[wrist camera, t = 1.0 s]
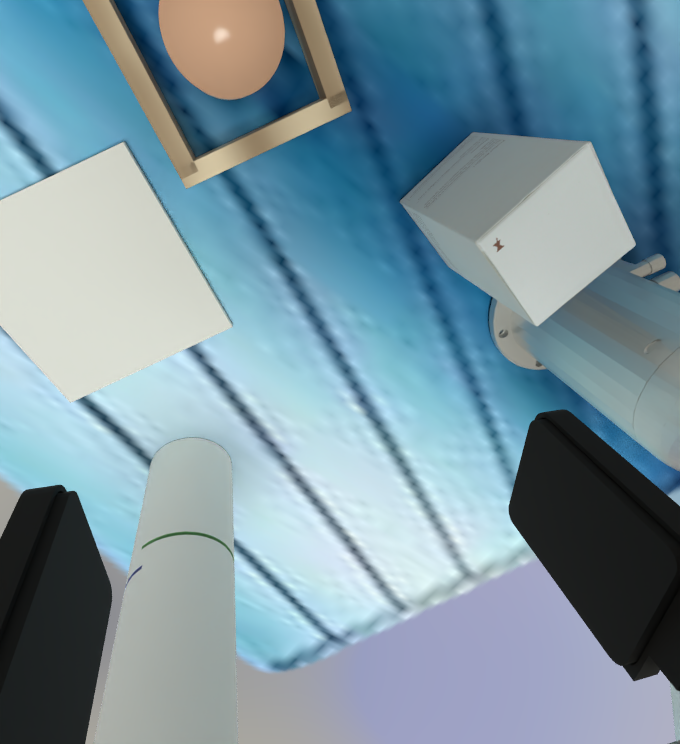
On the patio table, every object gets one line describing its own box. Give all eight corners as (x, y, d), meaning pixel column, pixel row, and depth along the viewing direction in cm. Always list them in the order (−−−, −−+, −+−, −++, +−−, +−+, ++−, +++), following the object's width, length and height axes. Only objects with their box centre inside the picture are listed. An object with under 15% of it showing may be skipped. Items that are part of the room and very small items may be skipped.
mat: (124, 141, 30) (123, 141, 29) (232, 324, 37) (232, 327, 37) (-74, 235, 30) (-79, 238, 29) (72, 398, 37) (70, 402, 37)
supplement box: (448, 269, 39) (534, 332, 28) (396, 199, 35) (472, 241, 24) (521, 206, 37) (641, 247, 27) (475, 126, 34) (592, 137, 23)
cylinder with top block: (232, -45, 27) (235, -116, 18) (280, 79, 30) (303, 69, 21) (148, -5, 27) (113, -57, 18) (207, 114, 30) (200, 118, 21)
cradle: (271, -99, 26) (276, -118, 24) (343, 110, 31) (351, 110, 29) (84, -9, 26) (72, -19, 24) (189, 183, 32) (186, 188, 29)
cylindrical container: (134, 479, 42) (42, 859, 21) (179, 424, 40) (130, 778, 19) (202, 509, 46) (183, 863, 24) (247, 459, 44) (269, 794, 22)
